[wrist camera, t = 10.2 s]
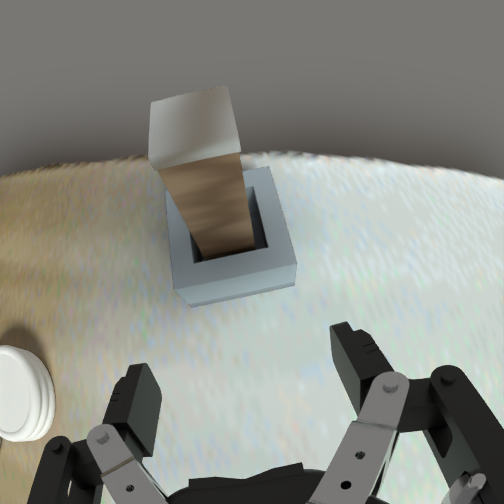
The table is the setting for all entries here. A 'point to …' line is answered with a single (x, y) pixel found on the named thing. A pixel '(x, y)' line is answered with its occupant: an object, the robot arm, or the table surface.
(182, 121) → the rail post
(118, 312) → the table surface
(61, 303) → the table surface
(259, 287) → the grey square collar
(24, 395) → the white round disc
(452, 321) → the table surface
